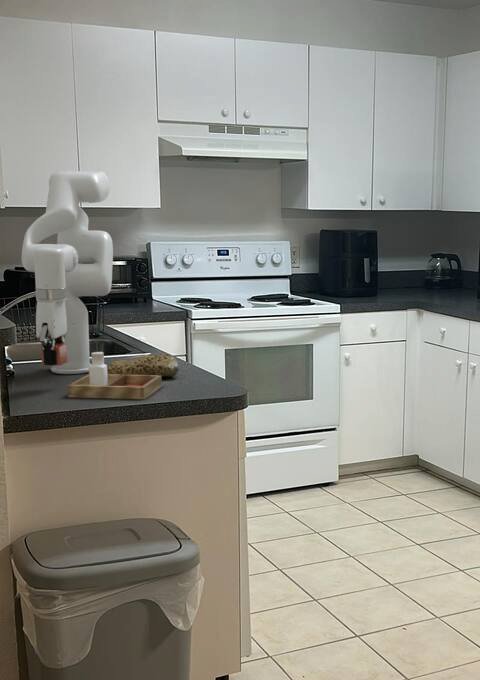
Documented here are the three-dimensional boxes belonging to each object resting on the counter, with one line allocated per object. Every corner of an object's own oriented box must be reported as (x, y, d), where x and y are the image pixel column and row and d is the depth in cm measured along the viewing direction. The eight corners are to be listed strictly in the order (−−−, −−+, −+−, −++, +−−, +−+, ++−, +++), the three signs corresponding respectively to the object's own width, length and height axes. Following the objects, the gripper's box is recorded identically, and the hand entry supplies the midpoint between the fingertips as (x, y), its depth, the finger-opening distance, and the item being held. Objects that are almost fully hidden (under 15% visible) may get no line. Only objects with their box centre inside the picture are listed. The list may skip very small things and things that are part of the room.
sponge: (169, 376, 264) (101, 367, 256) (175, 351, 262) (106, 341, 254) (178, 393, 253) (107, 384, 245) (184, 367, 251) (113, 357, 243)
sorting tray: (67, 397, 230) (67, 385, 230) (90, 384, 246) (89, 373, 246) (144, 399, 229) (144, 387, 228) (161, 386, 245) (161, 375, 244)
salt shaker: (89, 389, 236) (87, 354, 234) (93, 386, 240) (92, 351, 238) (104, 389, 236) (103, 354, 234) (108, 386, 240) (107, 351, 238)
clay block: (41, 365, 237) (40, 346, 236) (49, 361, 242) (48, 342, 241) (60, 365, 237) (59, 347, 236) (67, 361, 242) (66, 343, 241)
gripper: (50, 290, 244) (53, 355, 248) (23, 299, 228) (27, 369, 231) (77, 290, 244) (80, 356, 248) (52, 299, 227) (55, 369, 231)
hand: (54, 361), depth 239 cm, fingers closed on clay block, 5 cm apart
